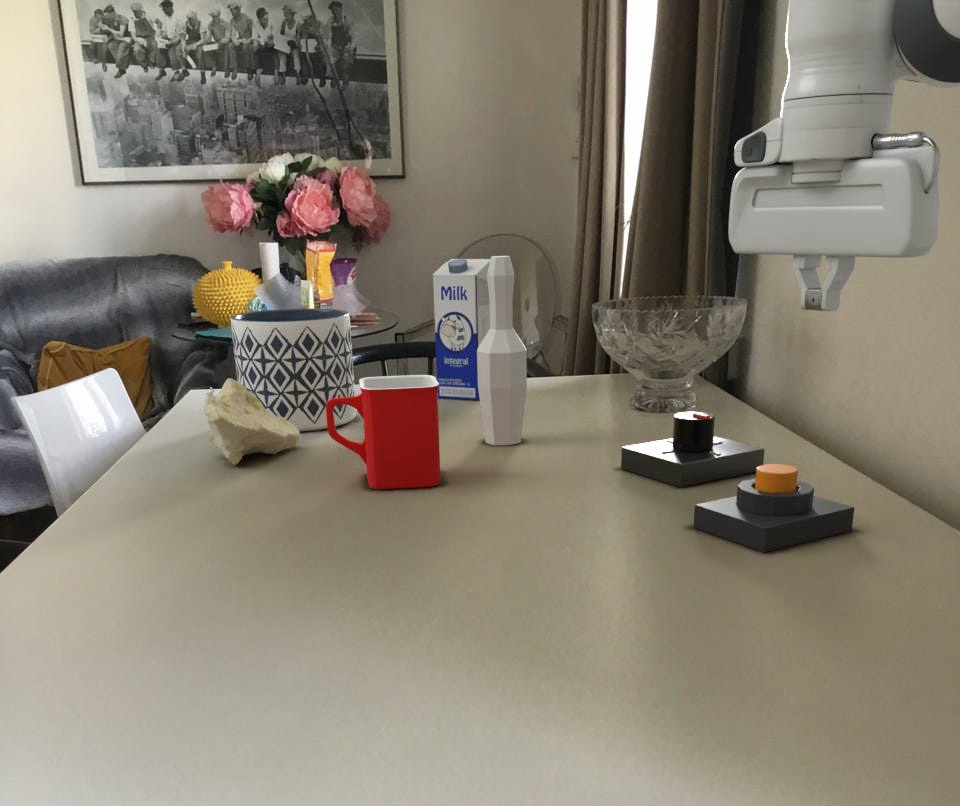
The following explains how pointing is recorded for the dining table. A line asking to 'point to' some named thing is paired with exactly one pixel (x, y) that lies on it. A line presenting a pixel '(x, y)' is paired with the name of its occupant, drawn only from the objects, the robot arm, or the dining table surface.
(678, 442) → the temp dial
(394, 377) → the mug
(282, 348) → the planter
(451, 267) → the milk carton
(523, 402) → the low poly bottle
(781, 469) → the button
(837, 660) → the dining table surface
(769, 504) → the button base
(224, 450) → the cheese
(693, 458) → the dial panel
